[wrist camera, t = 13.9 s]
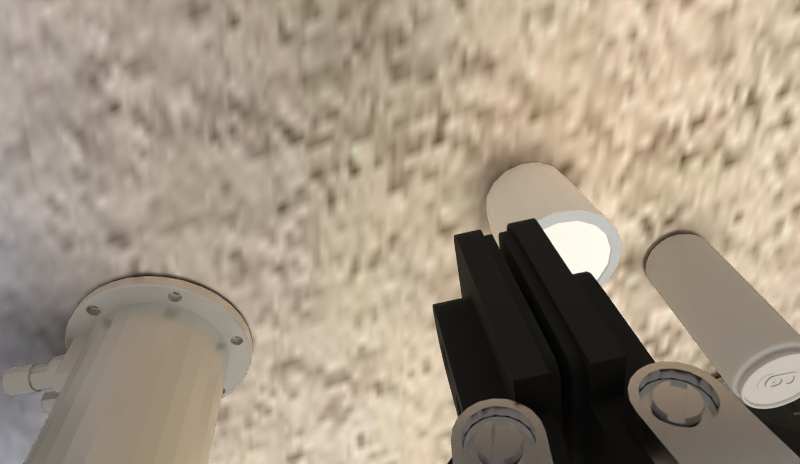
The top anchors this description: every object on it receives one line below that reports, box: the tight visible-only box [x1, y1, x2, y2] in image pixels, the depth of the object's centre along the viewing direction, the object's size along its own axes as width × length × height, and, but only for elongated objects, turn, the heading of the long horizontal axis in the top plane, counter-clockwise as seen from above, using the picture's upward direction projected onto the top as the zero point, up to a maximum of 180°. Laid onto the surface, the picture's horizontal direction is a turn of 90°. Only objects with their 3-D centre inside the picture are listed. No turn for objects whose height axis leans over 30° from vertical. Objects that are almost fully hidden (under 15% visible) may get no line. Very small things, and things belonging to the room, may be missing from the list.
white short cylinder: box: [486, 162, 622, 286], centre depth 34 cm, size 7×7×7 cm
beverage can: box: [645, 234, 800, 409], centre depth 36 cm, size 5×5×12 cm
